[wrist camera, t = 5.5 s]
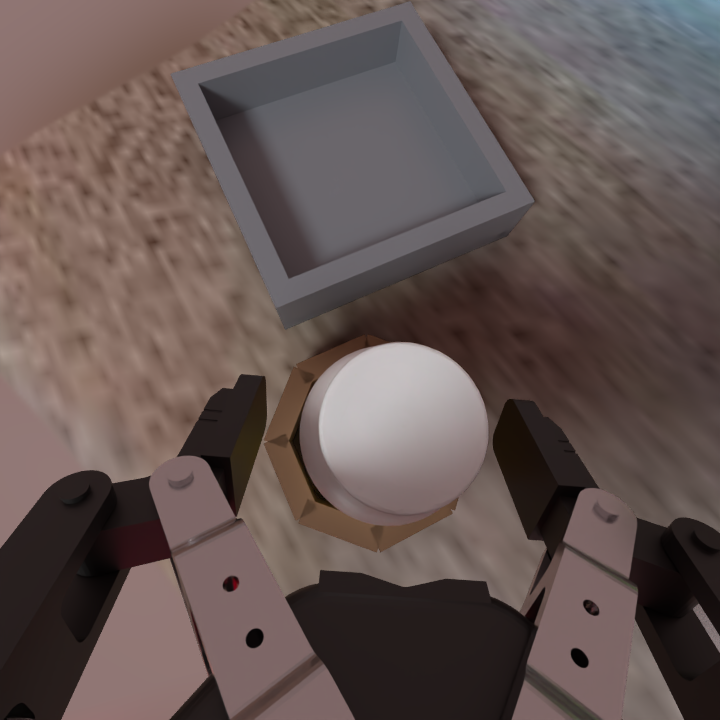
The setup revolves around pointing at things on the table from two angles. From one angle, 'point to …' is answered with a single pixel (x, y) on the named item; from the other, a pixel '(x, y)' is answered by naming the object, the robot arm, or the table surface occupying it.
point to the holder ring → (295, 476)
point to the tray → (351, 159)
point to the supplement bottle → (393, 433)
